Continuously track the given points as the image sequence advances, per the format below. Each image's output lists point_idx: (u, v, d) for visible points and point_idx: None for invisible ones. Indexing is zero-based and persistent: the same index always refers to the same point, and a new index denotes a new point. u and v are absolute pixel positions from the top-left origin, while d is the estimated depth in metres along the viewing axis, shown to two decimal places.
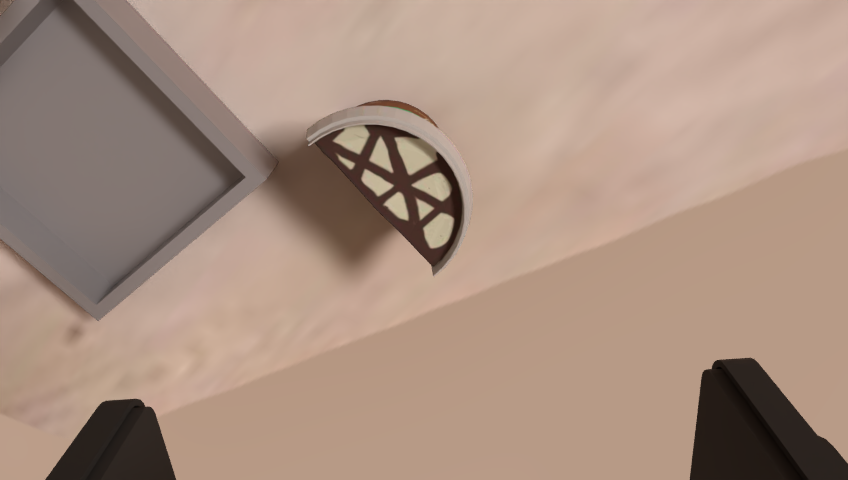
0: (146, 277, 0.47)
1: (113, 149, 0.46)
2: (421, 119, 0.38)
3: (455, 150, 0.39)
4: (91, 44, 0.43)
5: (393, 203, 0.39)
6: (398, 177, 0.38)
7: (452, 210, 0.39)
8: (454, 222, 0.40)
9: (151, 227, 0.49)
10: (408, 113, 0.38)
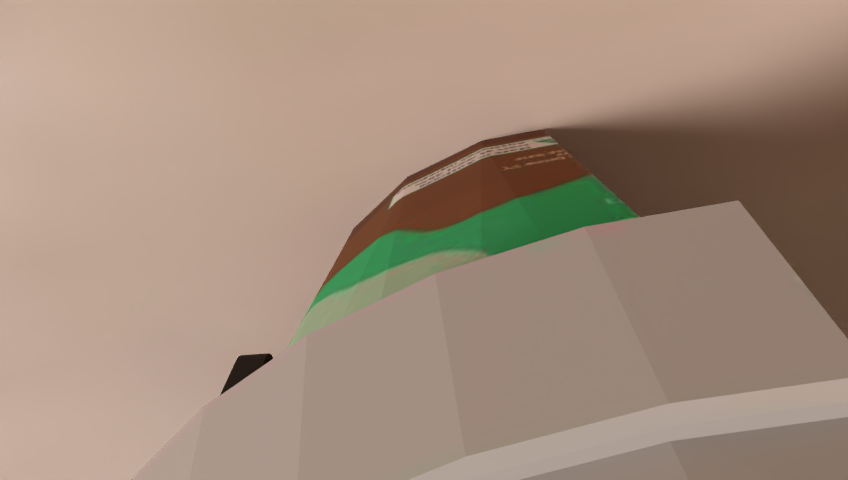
0: None
1: None
2: None
3: None
4: None
5: None
6: None
7: None
8: None
9: None
10: None
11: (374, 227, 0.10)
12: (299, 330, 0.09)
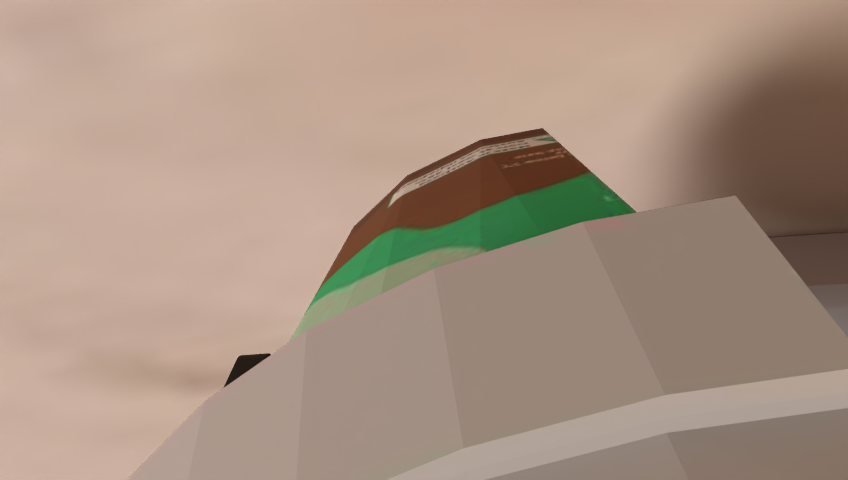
0: None
1: None
2: None
3: None
4: None
5: None
6: None
7: None
8: None
9: None
10: None
11: (374, 225, 0.10)
12: (299, 328, 0.09)
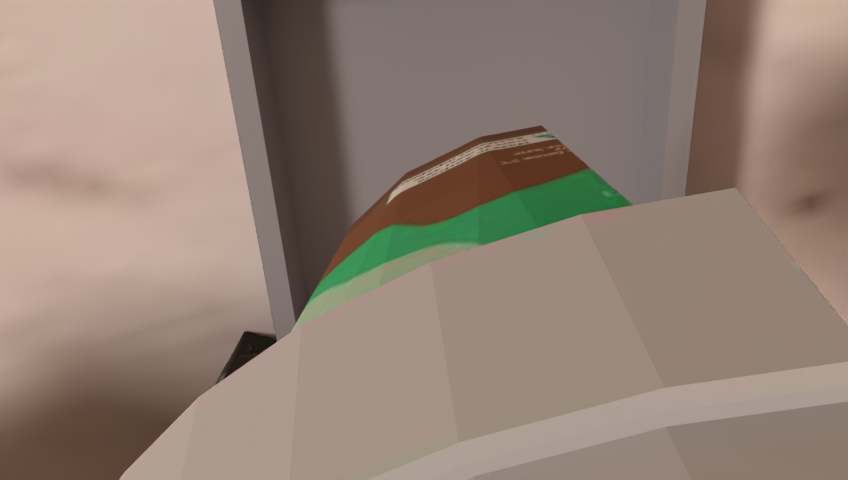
0: None
1: (445, 153, 0.29)
2: None
3: None
4: None
5: None
6: None
7: None
8: None
9: (499, 14, 0.26)
10: None
11: (372, 222, 0.10)
12: (296, 325, 0.08)
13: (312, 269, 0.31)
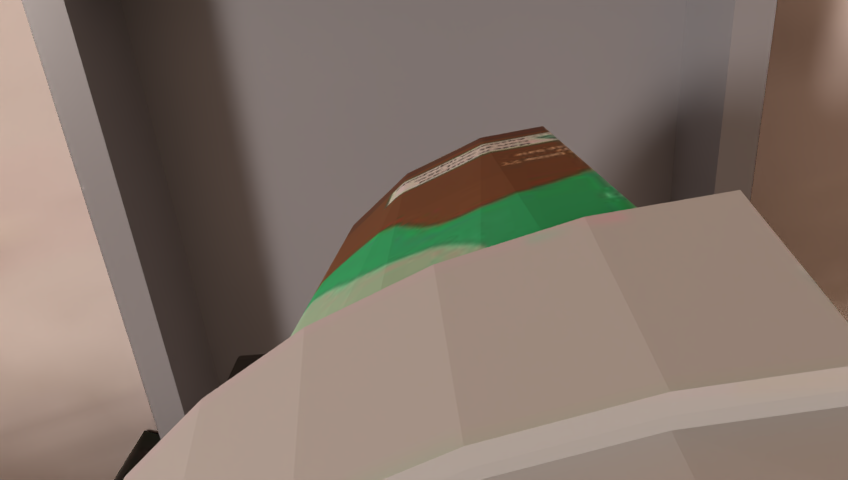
0: None
1: None
2: None
3: None
4: None
5: None
6: None
7: None
8: None
9: None
10: None
11: (373, 223, 0.10)
12: (298, 326, 0.08)
13: (224, 354, 0.23)
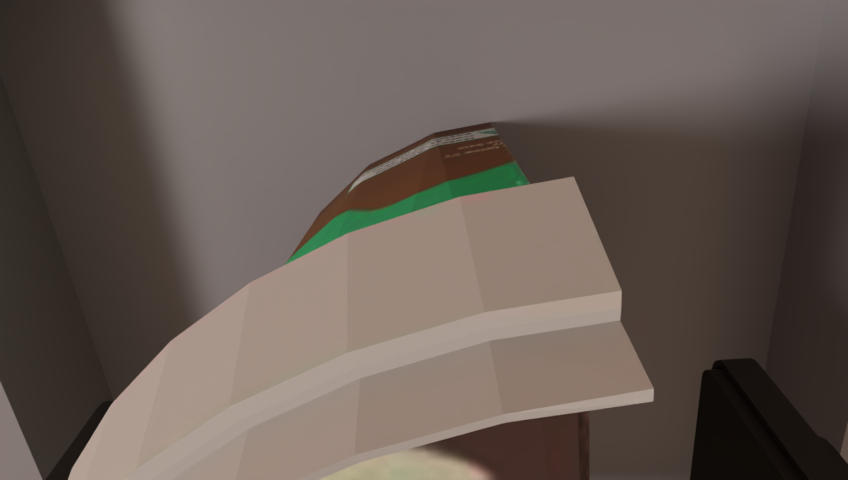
0: None
1: None
2: None
3: None
4: None
5: None
6: None
7: None
8: None
9: (494, 16, 0.12)
10: None
11: (334, 209, 0.11)
12: None
13: None
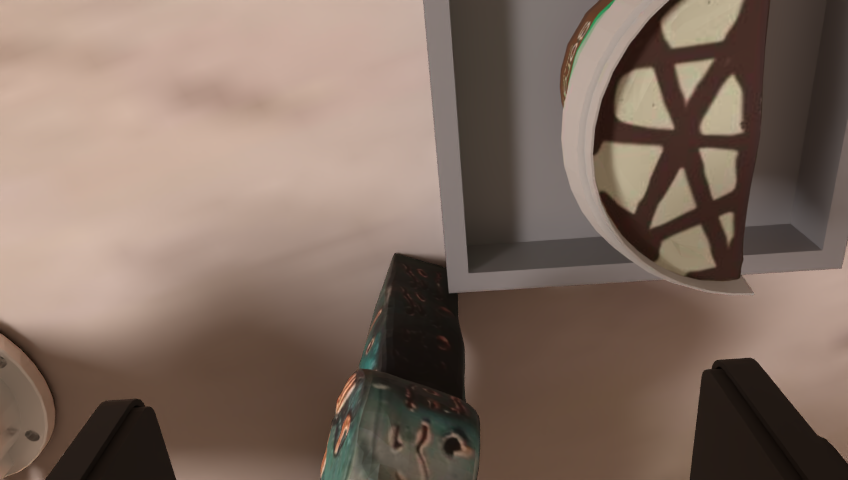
0: None
1: None
2: (576, 198, 0.23)
3: (566, 124, 0.21)
4: (516, 187, 0.31)
5: (727, 121, 0.20)
6: (681, 153, 0.21)
7: (650, 38, 0.19)
8: (665, 12, 0.19)
9: None
10: (586, 216, 0.23)
11: None
12: (603, 16, 0.24)
13: (471, 185, 0.31)
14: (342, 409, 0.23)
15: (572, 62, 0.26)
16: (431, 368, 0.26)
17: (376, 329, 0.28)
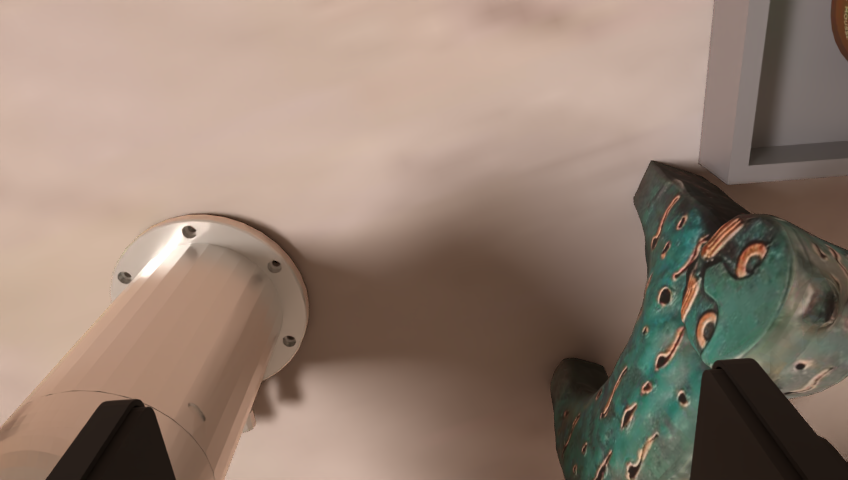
0: None
1: None
2: None
3: None
4: (778, 94, 0.36)
5: None
6: None
7: None
8: None
9: None
10: None
11: None
12: None
13: None
14: (722, 250, 0.27)
15: None
16: None
17: (684, 208, 0.32)
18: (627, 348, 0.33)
